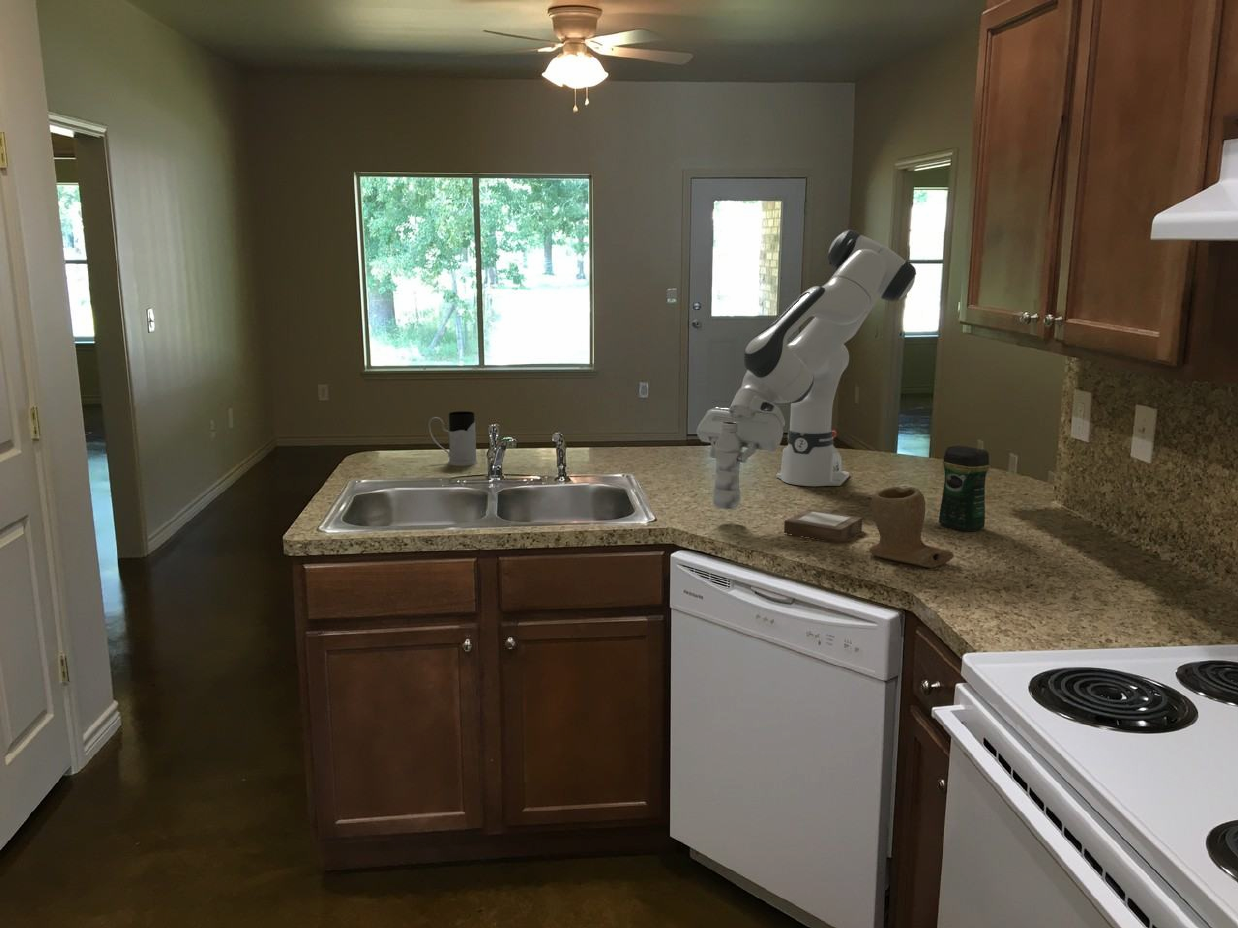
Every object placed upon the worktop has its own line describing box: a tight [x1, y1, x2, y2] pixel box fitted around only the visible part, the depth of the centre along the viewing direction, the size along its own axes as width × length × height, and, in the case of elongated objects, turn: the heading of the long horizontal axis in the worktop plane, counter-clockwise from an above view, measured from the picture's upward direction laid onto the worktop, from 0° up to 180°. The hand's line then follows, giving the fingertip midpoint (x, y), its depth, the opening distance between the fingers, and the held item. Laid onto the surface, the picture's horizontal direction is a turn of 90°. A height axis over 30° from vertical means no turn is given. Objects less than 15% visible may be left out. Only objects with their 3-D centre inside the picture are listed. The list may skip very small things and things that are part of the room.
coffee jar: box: [938, 445, 990, 532], centre depth 221 cm, size 10×8×19 cm
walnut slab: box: [783, 508, 863, 544], centre depth 217 cm, size 13×13×3 cm
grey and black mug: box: [428, 410, 479, 467], centre depth 290 cm, size 9×14×15 cm, turn 89°
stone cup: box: [868, 486, 954, 569], centre depth 195 cm, size 15×12×15 cm
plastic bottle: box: [712, 422, 744, 510], centre depth 223 cm, size 6×7×20 cm
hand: (727, 459), depth 222 cm, fingers closed on plastic bottle, 6 cm apart
